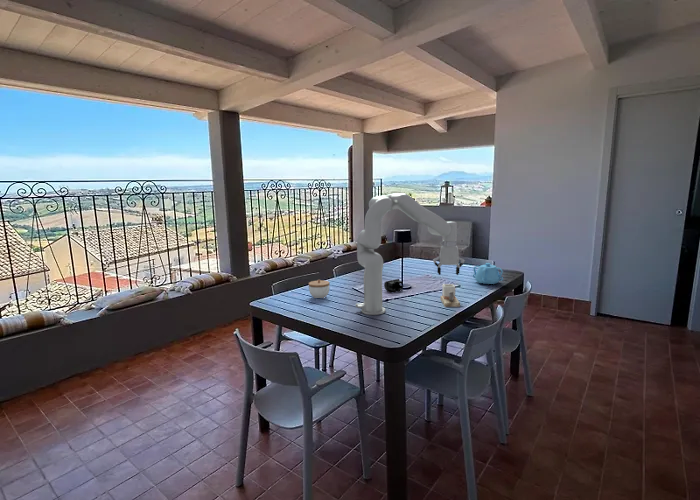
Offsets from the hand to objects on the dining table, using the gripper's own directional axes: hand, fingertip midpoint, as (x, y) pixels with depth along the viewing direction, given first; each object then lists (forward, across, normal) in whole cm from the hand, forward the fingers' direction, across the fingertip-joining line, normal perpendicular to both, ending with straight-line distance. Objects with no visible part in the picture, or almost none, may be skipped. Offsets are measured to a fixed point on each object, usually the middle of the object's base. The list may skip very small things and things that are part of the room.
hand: (448, 274), depth 203 cm
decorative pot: (+14, +34, +42) cm, 55 cm away
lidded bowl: (+17, -74, +9) cm, 77 cm away
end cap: (+16, -29, +24) cm, 41 cm away
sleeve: (+13, +1, 0) cm, 13 cm away
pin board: (+15, +1, -3) cm, 16 cm away
